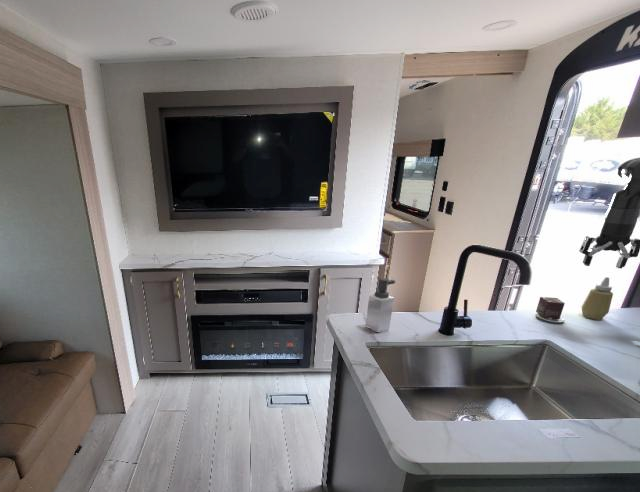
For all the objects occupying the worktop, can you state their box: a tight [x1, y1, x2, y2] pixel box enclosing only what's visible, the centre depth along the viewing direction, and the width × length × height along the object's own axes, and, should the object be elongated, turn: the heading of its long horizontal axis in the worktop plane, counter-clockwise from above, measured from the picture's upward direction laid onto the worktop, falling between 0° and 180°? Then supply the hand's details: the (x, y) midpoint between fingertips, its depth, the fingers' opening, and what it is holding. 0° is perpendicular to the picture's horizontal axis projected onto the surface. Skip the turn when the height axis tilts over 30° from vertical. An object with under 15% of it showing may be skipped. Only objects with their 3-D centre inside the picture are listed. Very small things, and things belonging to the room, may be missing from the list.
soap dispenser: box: [365, 277, 396, 333], centre depth 133 cm, size 6×9×22 cm
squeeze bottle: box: [581, 276, 614, 321], centre depth 136 cm, size 8×8×18 cm
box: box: [535, 296, 565, 319], centre depth 138 cm, size 6×6×7 cm
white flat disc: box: [535, 313, 566, 325], centre depth 138 cm, size 9×9×1 cm
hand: (602, 266), depth 116 cm, fingers open, 8 cm apart
